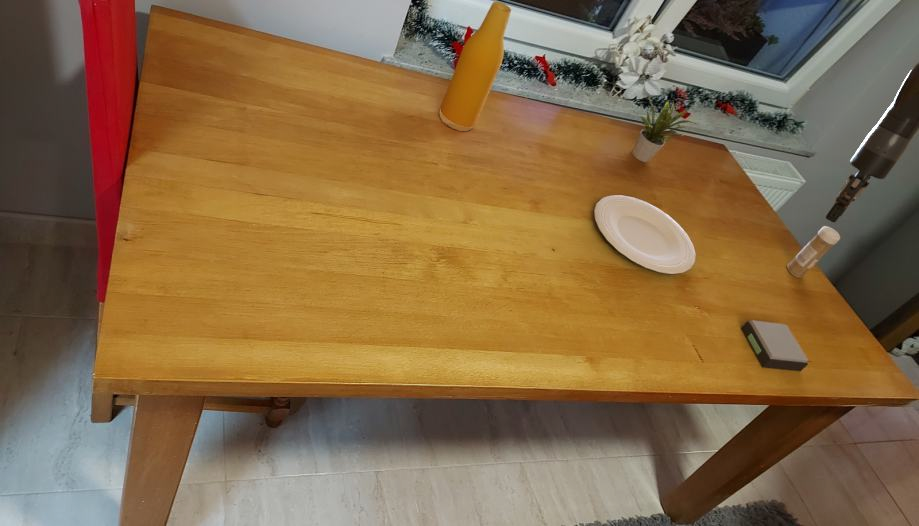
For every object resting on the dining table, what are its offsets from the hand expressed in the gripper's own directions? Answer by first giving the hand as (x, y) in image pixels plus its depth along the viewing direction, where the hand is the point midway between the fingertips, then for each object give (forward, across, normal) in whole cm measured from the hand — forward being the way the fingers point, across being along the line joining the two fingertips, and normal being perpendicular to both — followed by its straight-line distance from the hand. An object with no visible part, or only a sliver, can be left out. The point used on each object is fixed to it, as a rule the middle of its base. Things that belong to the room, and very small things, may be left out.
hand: (832, 217), depth 148 cm
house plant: (+12, +10, +46) cm, 49 cm away
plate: (+20, -21, +29) cm, 41 cm away
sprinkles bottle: (+18, +11, 0) cm, 21 cm away
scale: (+25, -22, -6) cm, 34 cm away
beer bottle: (+16, -33, +78) cm, 86 cm away
